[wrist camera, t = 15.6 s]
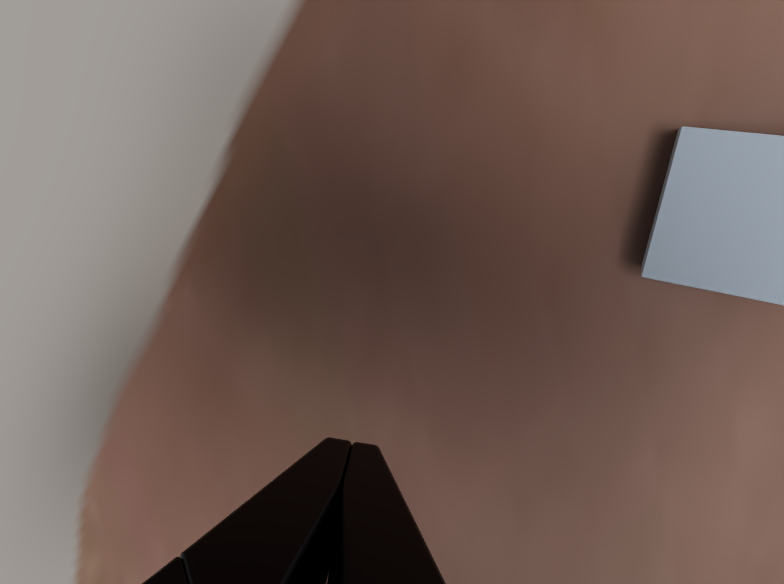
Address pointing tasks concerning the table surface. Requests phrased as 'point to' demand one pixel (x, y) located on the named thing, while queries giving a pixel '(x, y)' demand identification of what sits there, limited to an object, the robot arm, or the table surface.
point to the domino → (721, 215)
